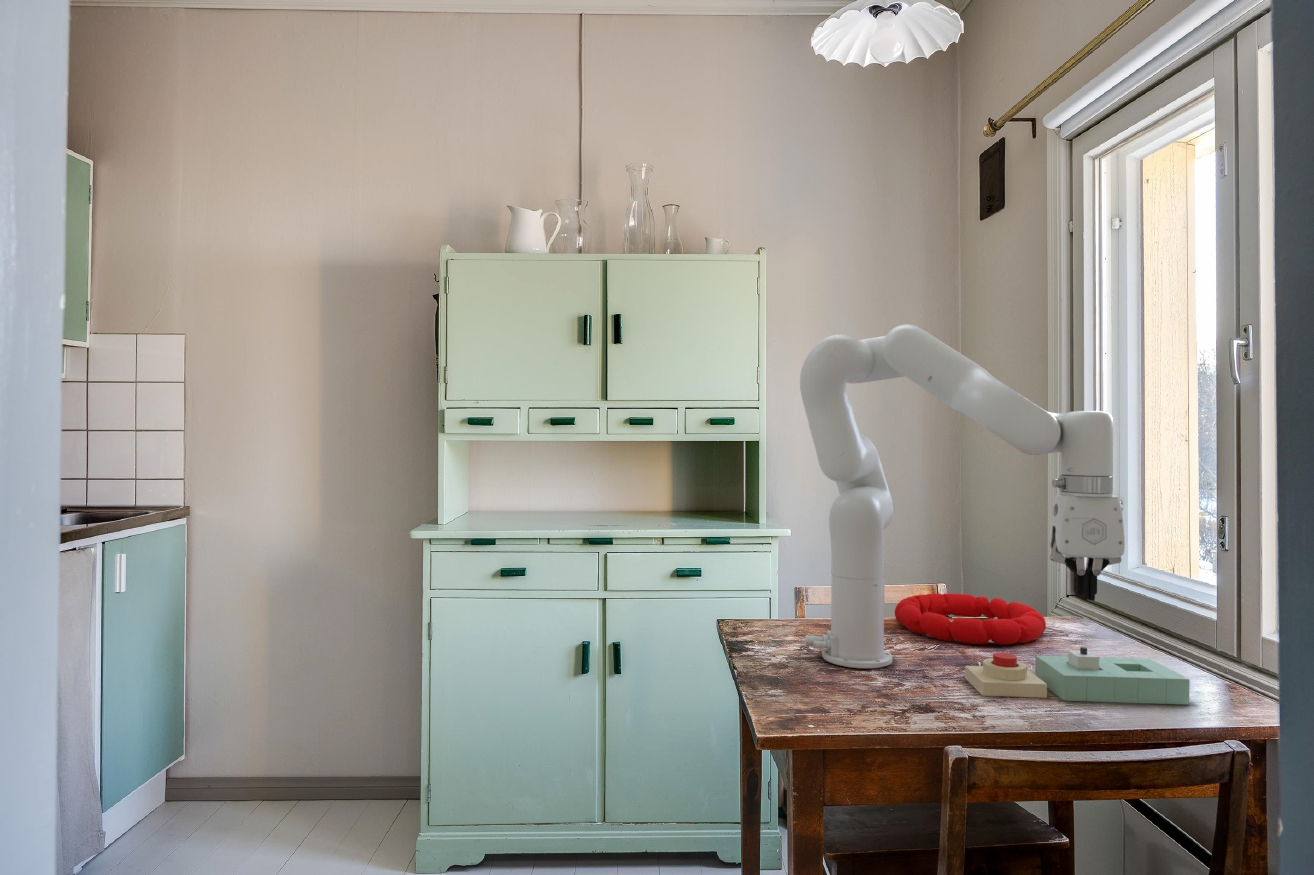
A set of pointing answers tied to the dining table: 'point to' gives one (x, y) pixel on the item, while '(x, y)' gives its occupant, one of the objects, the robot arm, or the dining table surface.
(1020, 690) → the switch box
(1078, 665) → the white block with knob
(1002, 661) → the power button
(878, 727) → the dining table surface
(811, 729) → the dining table surface
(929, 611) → the decorative ring
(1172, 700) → the green socket board
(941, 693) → the dining table surface
